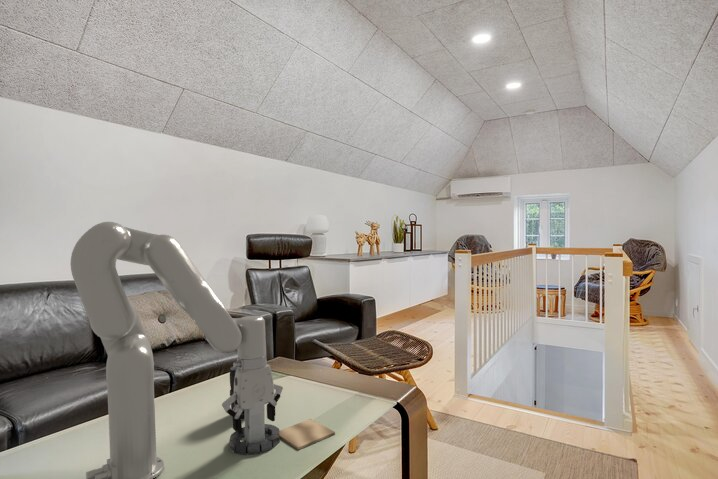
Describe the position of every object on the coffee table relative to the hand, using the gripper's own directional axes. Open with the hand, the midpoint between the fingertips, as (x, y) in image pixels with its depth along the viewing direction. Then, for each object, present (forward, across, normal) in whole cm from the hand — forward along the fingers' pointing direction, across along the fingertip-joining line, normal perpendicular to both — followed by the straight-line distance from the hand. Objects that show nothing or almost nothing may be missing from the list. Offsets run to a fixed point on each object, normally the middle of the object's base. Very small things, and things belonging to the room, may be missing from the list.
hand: (255, 425), depth 110 cm
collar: (+4, 0, 0) cm, 4 cm away
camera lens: (+5, +6, +19) cm, 20 cm away
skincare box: (+5, 0, 0) cm, 5 cm away
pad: (+4, +12, -6) cm, 14 cm away
